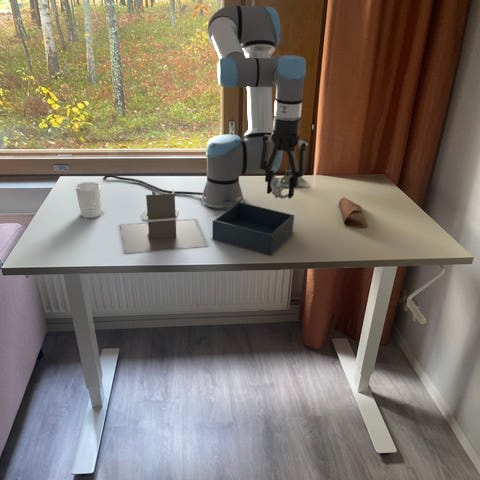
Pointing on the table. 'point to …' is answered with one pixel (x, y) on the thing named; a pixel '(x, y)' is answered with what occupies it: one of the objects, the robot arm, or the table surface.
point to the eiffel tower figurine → (286, 178)
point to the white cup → (89, 199)
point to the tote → (253, 227)
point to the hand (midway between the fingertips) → (280, 194)
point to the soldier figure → (277, 188)
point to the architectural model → (161, 228)
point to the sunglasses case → (352, 213)
